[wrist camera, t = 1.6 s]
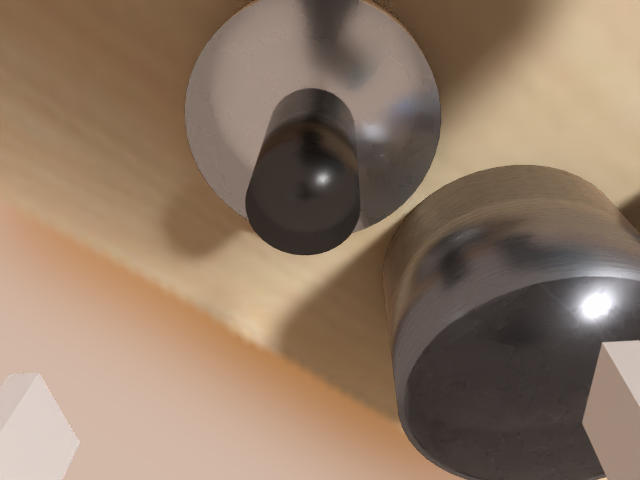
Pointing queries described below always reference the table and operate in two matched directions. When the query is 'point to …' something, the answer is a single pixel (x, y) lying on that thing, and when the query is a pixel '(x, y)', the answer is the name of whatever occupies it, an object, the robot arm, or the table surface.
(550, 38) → the table surface
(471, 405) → the pot
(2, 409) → the robot arm
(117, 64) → the table surface
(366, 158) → the lid
